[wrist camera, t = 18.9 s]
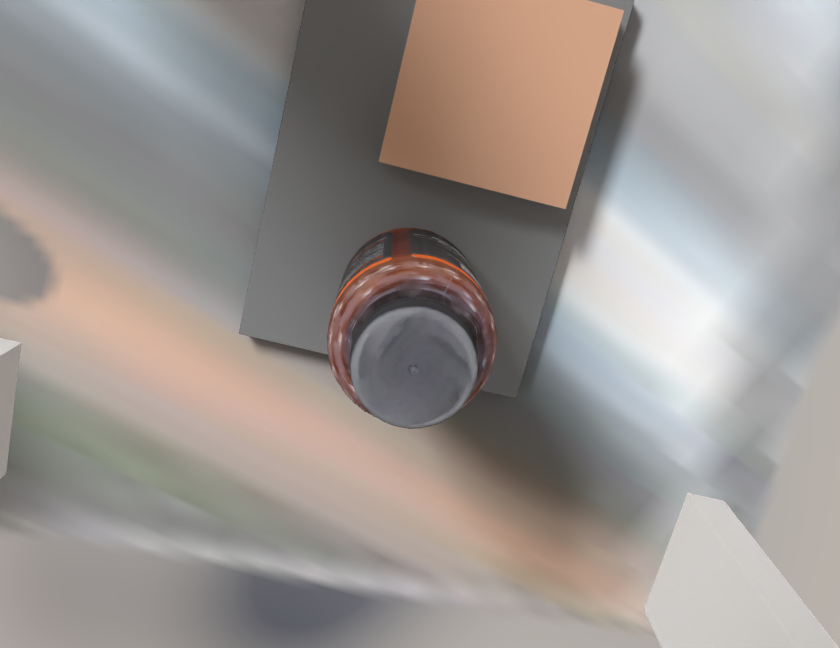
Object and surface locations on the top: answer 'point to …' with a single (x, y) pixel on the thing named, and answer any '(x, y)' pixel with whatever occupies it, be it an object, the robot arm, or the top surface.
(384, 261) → the supplement bottle
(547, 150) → the tile
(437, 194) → the mat
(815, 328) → the top surface
